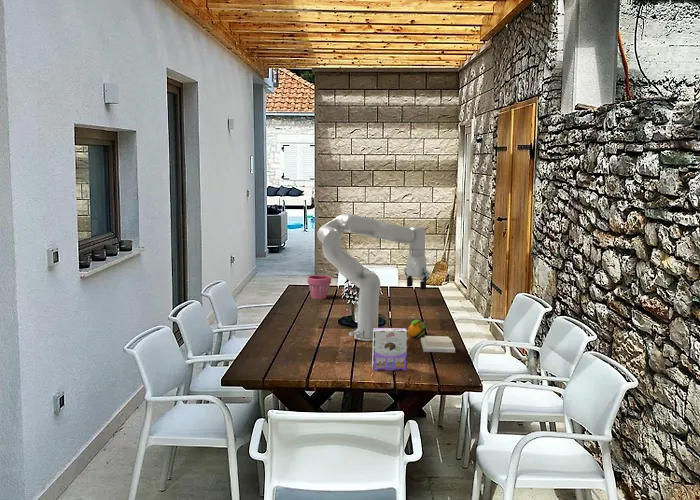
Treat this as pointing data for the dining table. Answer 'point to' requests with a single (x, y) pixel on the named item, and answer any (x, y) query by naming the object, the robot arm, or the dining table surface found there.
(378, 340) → the candy box
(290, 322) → the dining table surface
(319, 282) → the plant pot
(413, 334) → the corn
